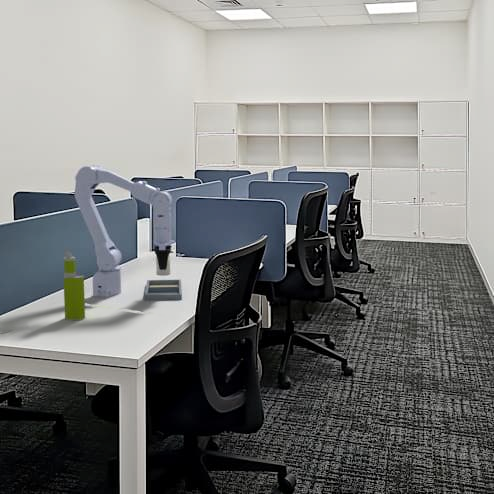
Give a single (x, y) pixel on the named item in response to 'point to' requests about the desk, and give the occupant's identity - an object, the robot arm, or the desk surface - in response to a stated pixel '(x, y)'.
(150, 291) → the tray
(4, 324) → the desk surface
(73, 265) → the vape
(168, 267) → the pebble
